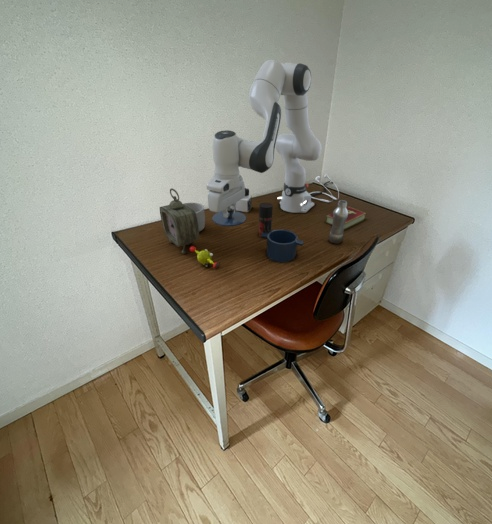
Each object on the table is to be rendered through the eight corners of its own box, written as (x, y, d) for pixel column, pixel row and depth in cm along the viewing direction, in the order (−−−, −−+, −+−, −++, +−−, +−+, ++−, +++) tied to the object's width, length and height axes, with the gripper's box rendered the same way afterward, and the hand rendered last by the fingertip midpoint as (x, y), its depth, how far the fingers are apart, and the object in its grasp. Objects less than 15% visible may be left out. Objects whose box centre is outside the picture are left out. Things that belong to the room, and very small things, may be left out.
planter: (193, 221, 134) (190, 200, 127) (211, 228, 129) (209, 207, 123) (173, 230, 125) (169, 208, 118) (192, 238, 120) (188, 215, 114)
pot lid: (222, 211, 113) (221, 200, 111) (251, 216, 111) (251, 206, 108) (206, 223, 103) (204, 212, 100) (237, 230, 100) (236, 219, 98)
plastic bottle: (325, 239, 128) (332, 199, 116) (337, 237, 130) (345, 198, 119) (331, 246, 123) (339, 205, 112) (344, 244, 125) (353, 204, 114)
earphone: (331, 199, 161) (316, 174, 162) (315, 213, 174) (301, 190, 175) (344, 195, 169) (329, 171, 170) (327, 208, 182) (314, 186, 183)
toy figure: (226, 273, 100) (225, 258, 97) (213, 279, 97) (212, 264, 93) (198, 253, 110) (196, 239, 106) (186, 258, 106) (184, 244, 102)
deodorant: (273, 237, 126) (274, 207, 118) (261, 238, 124) (261, 208, 116) (269, 231, 130) (270, 202, 122) (257, 232, 128) (257, 203, 120)
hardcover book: (325, 222, 143) (326, 214, 141) (346, 212, 156) (348, 205, 154) (343, 230, 137) (345, 223, 135) (364, 219, 150) (366, 212, 147)
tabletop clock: (166, 242, 115) (154, 185, 101) (185, 236, 121) (177, 181, 107) (182, 257, 107) (171, 197, 93) (202, 249, 112) (195, 192, 98)
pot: (266, 242, 121) (267, 226, 116) (304, 251, 117) (306, 234, 113) (256, 256, 111) (256, 238, 106) (297, 266, 107) (299, 248, 103)
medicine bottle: (247, 212, 146) (247, 191, 140) (235, 210, 147) (234, 189, 141) (251, 207, 152) (251, 187, 146) (239, 206, 153) (239, 185, 146)
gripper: (234, 172, 107) (236, 204, 115) (203, 186, 91) (207, 223, 99) (248, 174, 105) (249, 207, 113) (219, 189, 89) (221, 227, 97)
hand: (229, 215), depth 106 cm, fingers closed on pot lid, 2 cm apart
